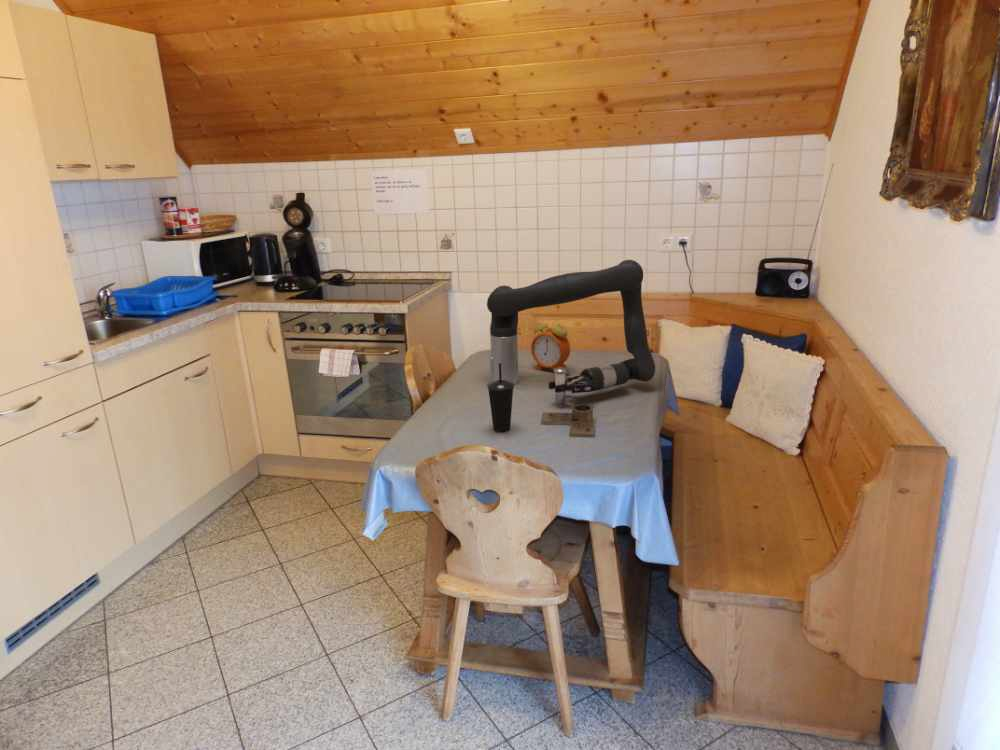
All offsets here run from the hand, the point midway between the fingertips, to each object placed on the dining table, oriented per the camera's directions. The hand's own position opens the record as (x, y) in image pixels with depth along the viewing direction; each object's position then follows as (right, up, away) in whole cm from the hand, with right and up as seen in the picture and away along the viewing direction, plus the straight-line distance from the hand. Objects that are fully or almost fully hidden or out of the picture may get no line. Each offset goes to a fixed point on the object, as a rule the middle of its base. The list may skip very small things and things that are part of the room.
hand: (552, 387), depth 208 cm
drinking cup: (-16, -12, -13) cm, 24 cm away
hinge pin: (+3, -6, +3) cm, 7 cm away
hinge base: (+3, -11, -12) cm, 17 cm away
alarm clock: (+2, +6, +38) cm, 38 cm away
